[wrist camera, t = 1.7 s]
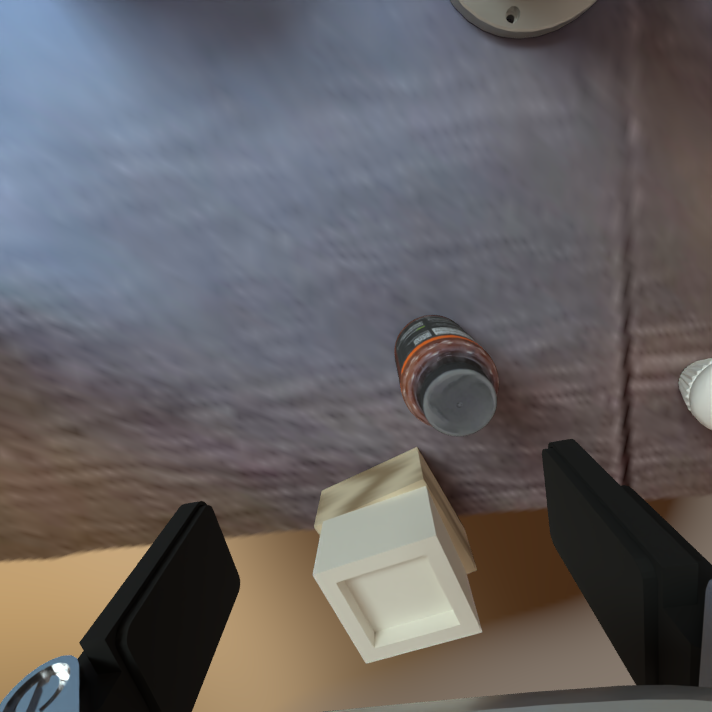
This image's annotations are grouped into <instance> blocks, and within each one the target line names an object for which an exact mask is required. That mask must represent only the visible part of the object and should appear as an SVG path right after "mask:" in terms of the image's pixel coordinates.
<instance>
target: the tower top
mask: <svg viewBox="0 0 712 712" xmlns="http://www.w3.org/2000/svg"><path fill="white" fill-rule="evenodd" d="M313 577H314V578H315V580H316V581H317V583H318V585H319V586H320V588H321V589H322V591H323V593H324V595H325V596H326V598H327V600H328V601H329V603H330V605H331V606H332V608H333V610H334V611H335V613H336V615H337V616H338V618H339V620H340V621H341V623H342V624H343V626H344V628H345V630H346V631H347V633H348V635H349V636H350V638H351V640H352V641H353V643H354V645H355V646H356V648H357V650H358V651H359V653H360V654H361V656H362V658H363V659H364V661H365V663H370V662H374V661H378V660H381V659H385V658H389V657H392V656H396V655H400V654H404V653H407V652H411V651H415V650H418V649H422V648H426V647H429V646H433V645H437V644H441V643H444V642H448V641H451V640H455V639H459V638H463V637H466V636H470V635H474V634H477V633H481V632H482V629H481V626H480V622H479V618H478V614H477V611H476V607H475V603H474V600H473V596H472V592H471V588H470V585H469V581H468V577H467V573H466V570H465V568H464V566H463V564H462V562H461V559H460V557H459V555H458V553H457V551H456V549H455V547H454V544H453V542H452V540H451V538H450V536H449V534H448V532H447V529H446V527H445V525H444V523H443V521H442V519H441V517H440V514H439V512H438V510H437V508H436V506H435V504H434V502H433V499H432V497H431V495H430V493H429V491H428V489H427V487H426V486H424V487H421V488H418V489H415V490H412V491H409V492H406V493H403V494H401V495H398V496H395V497H392V498H389V499H386V500H383V501H380V502H377V503H375V504H372V505H369V506H366V507H363V508H360V509H357V510H354V511H352V512H349V513H346V514H343V515H340V516H337V517H334V518H331V519H328V520H326V521H323V524H322V529H321V534H320V539H319V545H318V550H317V555H316V561H315V566H314V571H313Z"/></svg>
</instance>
